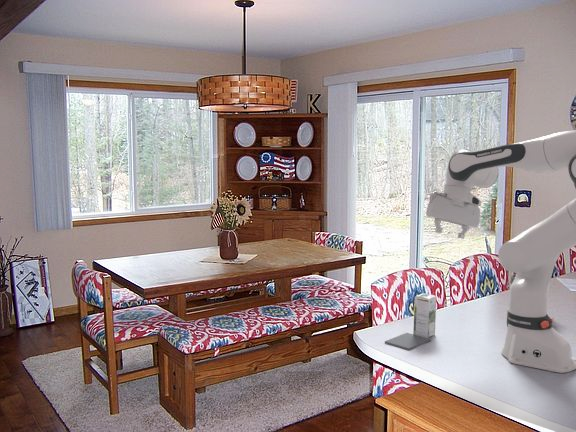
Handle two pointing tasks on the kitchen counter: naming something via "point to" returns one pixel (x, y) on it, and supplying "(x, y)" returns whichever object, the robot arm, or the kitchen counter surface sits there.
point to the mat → (408, 341)
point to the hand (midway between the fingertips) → (449, 235)
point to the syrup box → (424, 315)
